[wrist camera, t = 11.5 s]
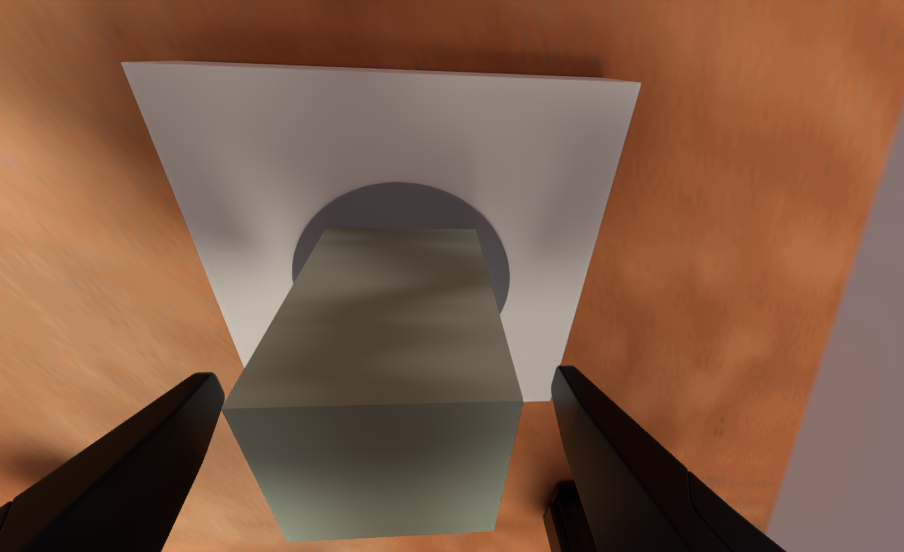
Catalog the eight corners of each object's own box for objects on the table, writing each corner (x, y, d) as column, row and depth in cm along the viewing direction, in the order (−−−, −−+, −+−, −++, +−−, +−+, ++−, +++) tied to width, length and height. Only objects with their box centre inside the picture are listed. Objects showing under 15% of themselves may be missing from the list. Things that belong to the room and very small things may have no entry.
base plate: (604, 77, 12) (645, 83, 10) (536, 363, 20) (550, 404, 17) (178, 60, 11) (114, 61, 9) (279, 368, 19) (259, 412, 16)
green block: (475, 228, 12) (523, 400, 6) (466, 338, 15) (493, 531, 9) (326, 227, 12) (220, 409, 6) (345, 340, 14) (287, 542, 8)
